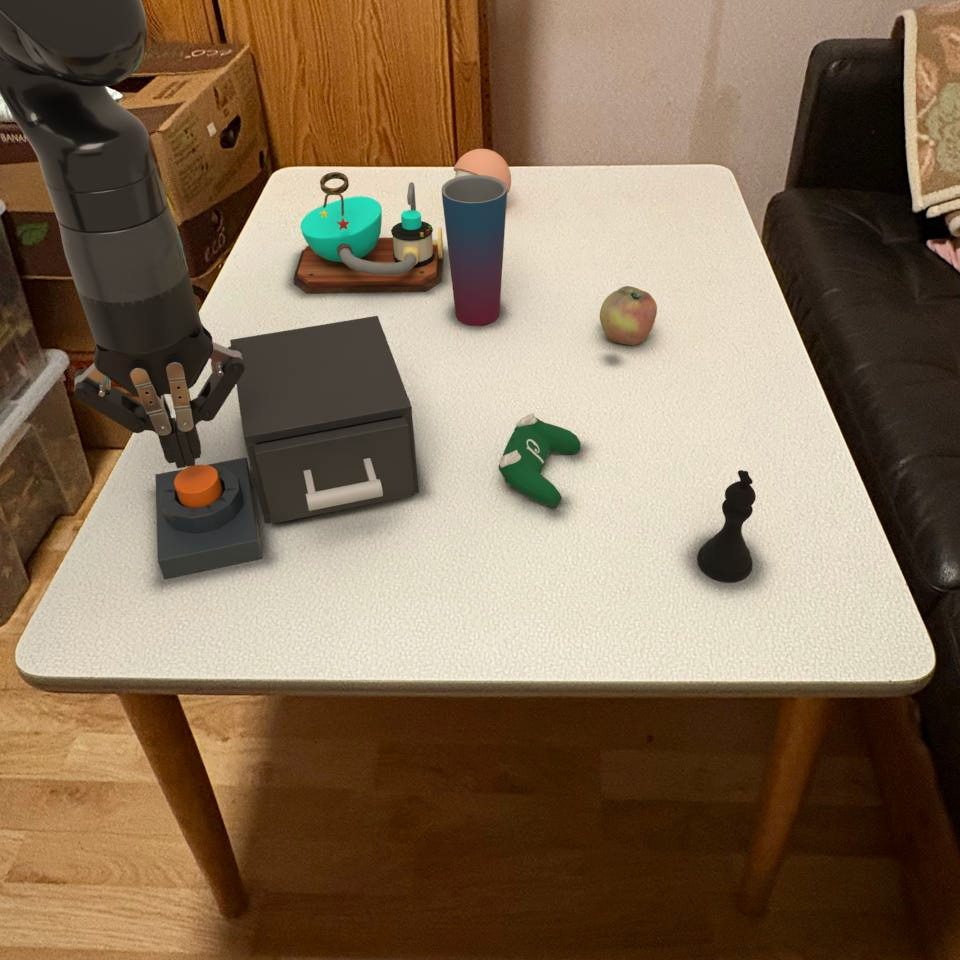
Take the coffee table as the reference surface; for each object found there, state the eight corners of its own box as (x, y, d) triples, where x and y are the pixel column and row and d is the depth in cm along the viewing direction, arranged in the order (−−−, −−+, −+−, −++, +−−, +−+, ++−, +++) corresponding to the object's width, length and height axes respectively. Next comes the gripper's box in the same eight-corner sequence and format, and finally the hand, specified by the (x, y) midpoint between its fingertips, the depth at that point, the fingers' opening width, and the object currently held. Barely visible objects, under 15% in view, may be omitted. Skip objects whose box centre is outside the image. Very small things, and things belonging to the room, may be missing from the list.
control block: (262, 558, 76) (253, 524, 73) (164, 579, 75) (151, 545, 72) (250, 475, 84) (242, 441, 81) (161, 492, 82) (150, 458, 80)
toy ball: (441, 209, 124) (438, 152, 119) (478, 190, 128) (477, 134, 123) (486, 226, 120) (486, 168, 115) (523, 205, 124) (523, 148, 119)
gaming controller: (557, 457, 88) (515, 415, 86) (586, 440, 85) (543, 397, 83) (532, 522, 81) (485, 478, 79) (562, 505, 79) (515, 460, 77)
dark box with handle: (426, 528, 77) (420, 457, 72) (277, 559, 75) (260, 488, 69) (384, 405, 90) (377, 338, 85) (256, 428, 88) (240, 361, 82)
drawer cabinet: (419, 492, 82) (411, 406, 75) (265, 523, 79) (243, 437, 73) (386, 398, 92) (377, 315, 86) (249, 423, 90) (229, 339, 83)
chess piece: (731, 537, 77) (753, 446, 70) (762, 573, 74) (788, 481, 67) (686, 552, 76) (704, 461, 69) (716, 589, 73) (737, 497, 66)
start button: (223, 503, 76) (219, 487, 75) (179, 512, 75) (174, 496, 74) (221, 475, 78) (216, 460, 77) (178, 484, 78) (173, 468, 77)
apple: (597, 359, 97) (601, 311, 93) (597, 319, 103) (601, 272, 99) (654, 362, 96) (661, 313, 92) (651, 321, 102) (657, 274, 98)
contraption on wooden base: (441, 302, 106) (434, 177, 96) (287, 304, 106) (264, 179, 96) (445, 244, 116) (440, 126, 106) (305, 246, 117) (286, 128, 107)
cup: (440, 304, 106) (433, 179, 96) (496, 294, 107) (495, 170, 97) (457, 334, 101) (451, 207, 91) (515, 324, 102) (516, 196, 92)
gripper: (25, 312, 59) (101, 507, 71) (232, 282, 62) (272, 474, 73) (33, 259, 64) (102, 447, 76) (223, 233, 67) (262, 419, 79)
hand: (186, 460), depth 75 cm, fingers closed
